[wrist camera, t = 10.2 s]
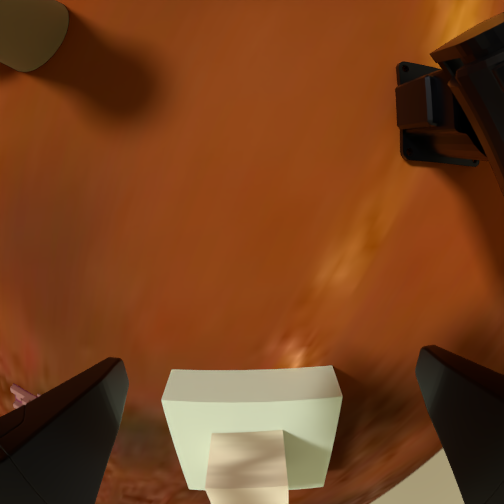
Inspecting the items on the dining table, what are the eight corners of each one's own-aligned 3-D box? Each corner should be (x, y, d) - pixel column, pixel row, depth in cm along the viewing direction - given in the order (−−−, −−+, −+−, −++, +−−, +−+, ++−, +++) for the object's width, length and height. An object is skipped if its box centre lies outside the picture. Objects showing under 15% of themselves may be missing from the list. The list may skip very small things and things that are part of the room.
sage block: (331, 362, 23) (342, 396, 19) (317, 455, 27) (323, 486, 23) (172, 365, 23) (161, 399, 20) (194, 458, 27) (189, 489, 23)
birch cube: (282, 429, 20) (288, 485, 15) (284, 467, 22) (288, 516, 17) (211, 433, 20) (204, 488, 16) (221, 470, 22) (218, 519, 17)
